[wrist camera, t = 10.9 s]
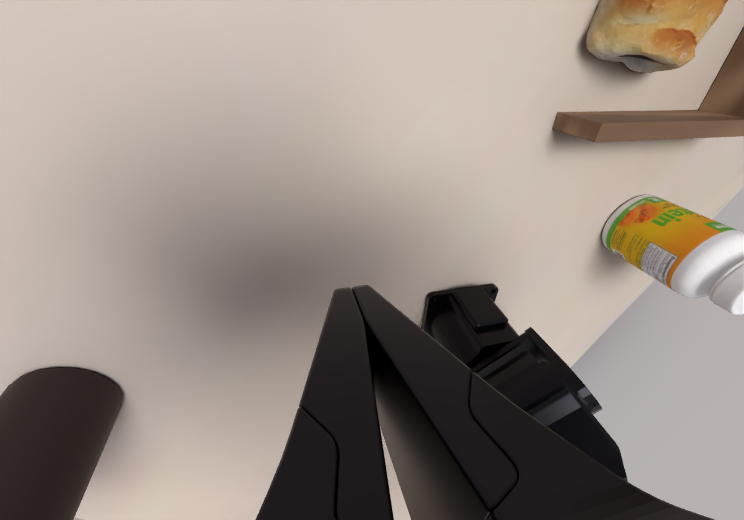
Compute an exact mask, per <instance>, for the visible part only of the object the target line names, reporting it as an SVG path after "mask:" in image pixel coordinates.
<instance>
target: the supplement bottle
mask: <svg viewBox="0 0 744 520" xmlns="http://www.w3.org/2000/svg"><path fill="white" fill-rule="evenodd" d="M602 240H603V243H604V245H605V246H606V247H607V248H608V249H609V250H611V251H612V252H613V253H615V254H617V255H618V256H620V257H621V258H623V259H625V260H626V261H628V262H629V263H631V264H633V265H634V266H636V267H637V268H639V269H640V270H642V271H644V272H645V273H647V274H648V275H650V276H651V277H653V278H655V279H656V280H658V281H659V282H661V283H663V284H664V285H666V286H668V287H669V288H671V289H672V290H674V291H676V292H678V293H679V294H681V295H683V296H686V297H693V298H698V297H704V296H708V295H709V298H710V300H711V301H712V302H714V304H716V305H718V306H720V307H722V308H723V309H725V310H727V311H728V312H730V313H732V314H735V315H740V314H744V233H743V232H740V231H738V230H736V229H733V228H731V227H728V226H726V225H723V224H721V223H719V222H716V221H714V220H711V219H709V218H706V217H704V216H702V215H699V214H697V213H694V212H692V211H690V210H687V209H685V208H682V207H680V206H678V205H675V204H673V203H670V202H668V201H666V200H663V199H661V198H658V197H656V196H652V195H642V196H638V197H635V198H633V199H631V200H629V201H628V202H626V203H625V204H623V205H622V206H621V207H619V208H618V209H617V210H616V211H615V212H614V213H613V214H612V216H611V217H610V218H609V219H608V221H607V223H606V225H605V227H604V230H603V234H602Z"/></svg>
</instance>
